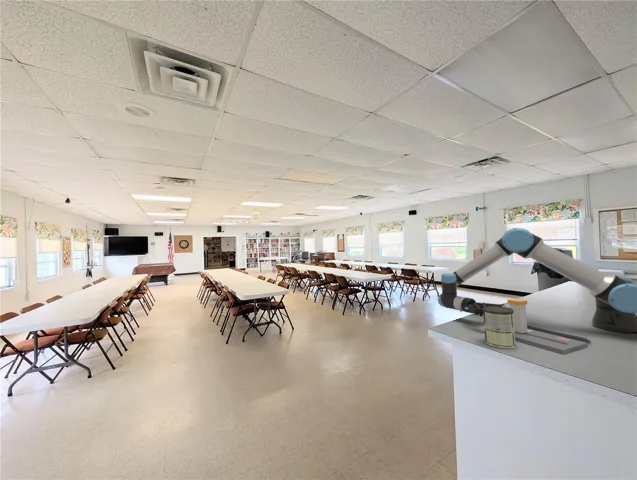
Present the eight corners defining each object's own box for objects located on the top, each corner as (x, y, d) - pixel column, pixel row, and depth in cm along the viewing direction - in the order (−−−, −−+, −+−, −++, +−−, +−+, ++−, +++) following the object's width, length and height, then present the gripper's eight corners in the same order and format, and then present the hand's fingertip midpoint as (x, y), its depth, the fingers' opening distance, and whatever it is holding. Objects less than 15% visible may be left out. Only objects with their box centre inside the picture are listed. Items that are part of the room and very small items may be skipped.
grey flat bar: (521, 329, 120) (520, 324, 120) (527, 327, 122) (526, 323, 122) (587, 345, 99) (586, 339, 99) (593, 343, 100) (592, 337, 101)
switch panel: (491, 333, 116) (491, 330, 116) (514, 328, 121) (513, 325, 122) (563, 354, 91) (563, 350, 91) (587, 346, 97) (587, 342, 97)
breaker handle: (509, 330, 113) (507, 299, 114) (516, 328, 115) (514, 298, 116) (522, 333, 109) (519, 301, 109) (529, 332, 111) (527, 300, 111)
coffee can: (479, 339, 109) (477, 306, 110) (505, 339, 108) (503, 305, 109) (493, 348, 99) (491, 311, 100) (522, 348, 98) (519, 311, 98)
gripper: (482, 308, 140) (525, 317, 121) (448, 314, 131) (489, 325, 111) (481, 295, 141) (524, 301, 121) (447, 299, 131) (488, 307, 112)
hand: (508, 313), depth 116 cm, fingers open, 13 cm apart
